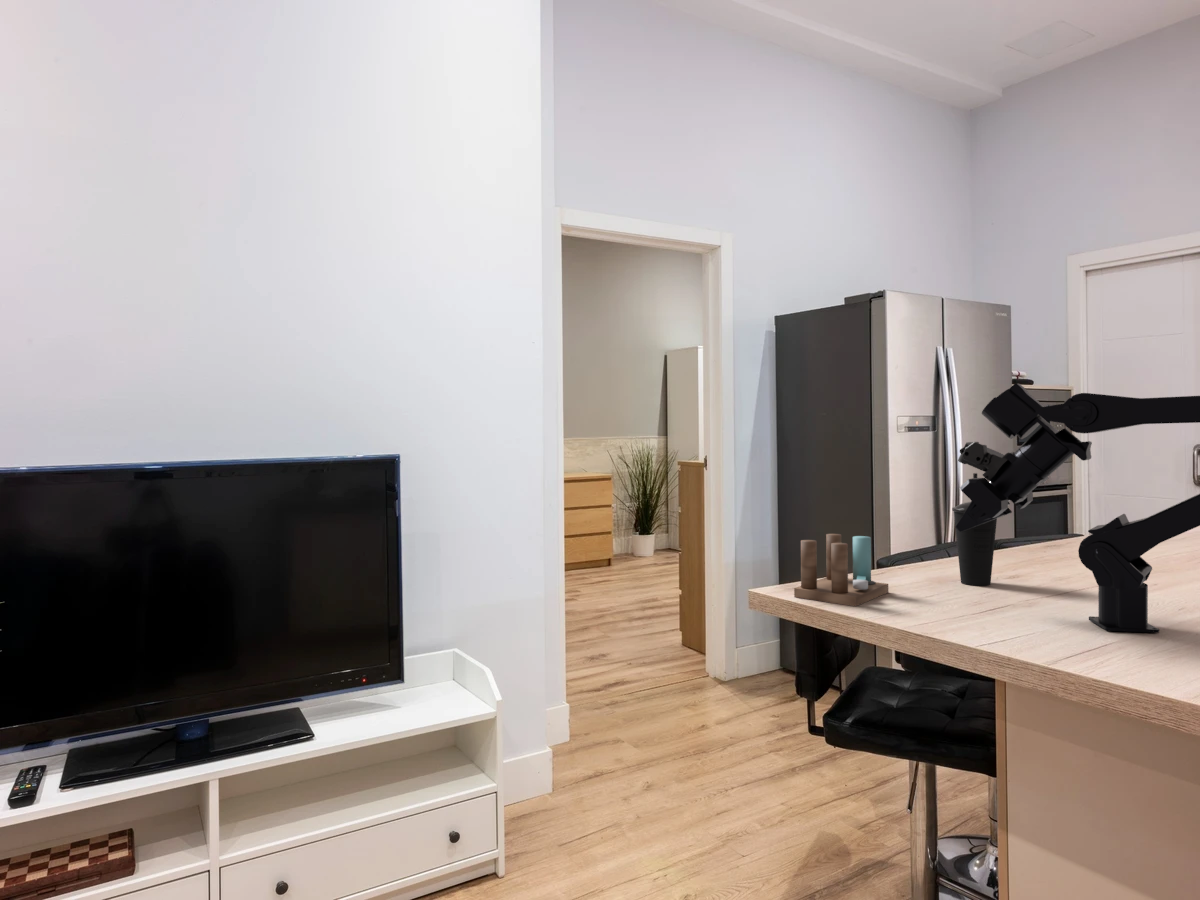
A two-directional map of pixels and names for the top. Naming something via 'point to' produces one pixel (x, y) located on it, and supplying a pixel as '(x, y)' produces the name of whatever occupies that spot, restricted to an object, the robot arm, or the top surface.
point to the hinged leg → (861, 562)
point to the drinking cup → (975, 549)
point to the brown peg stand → (832, 576)
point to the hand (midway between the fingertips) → (958, 529)
